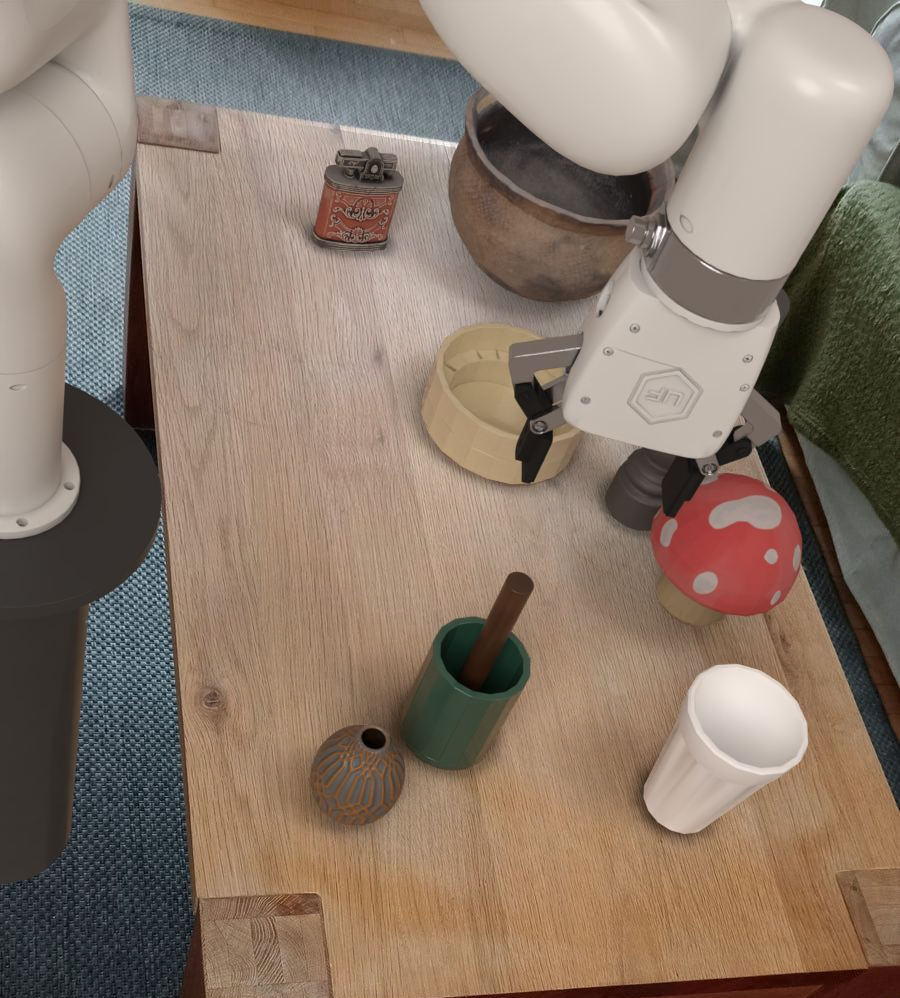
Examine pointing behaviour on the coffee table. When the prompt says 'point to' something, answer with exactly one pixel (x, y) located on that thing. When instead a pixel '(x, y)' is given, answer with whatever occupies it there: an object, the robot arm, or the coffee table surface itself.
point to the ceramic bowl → (542, 208)
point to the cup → (724, 747)
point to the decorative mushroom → (726, 551)
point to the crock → (461, 698)
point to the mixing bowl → (486, 405)
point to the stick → (496, 630)
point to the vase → (357, 774)
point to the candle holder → (649, 474)
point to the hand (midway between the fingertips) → (597, 484)
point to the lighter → (357, 201)
